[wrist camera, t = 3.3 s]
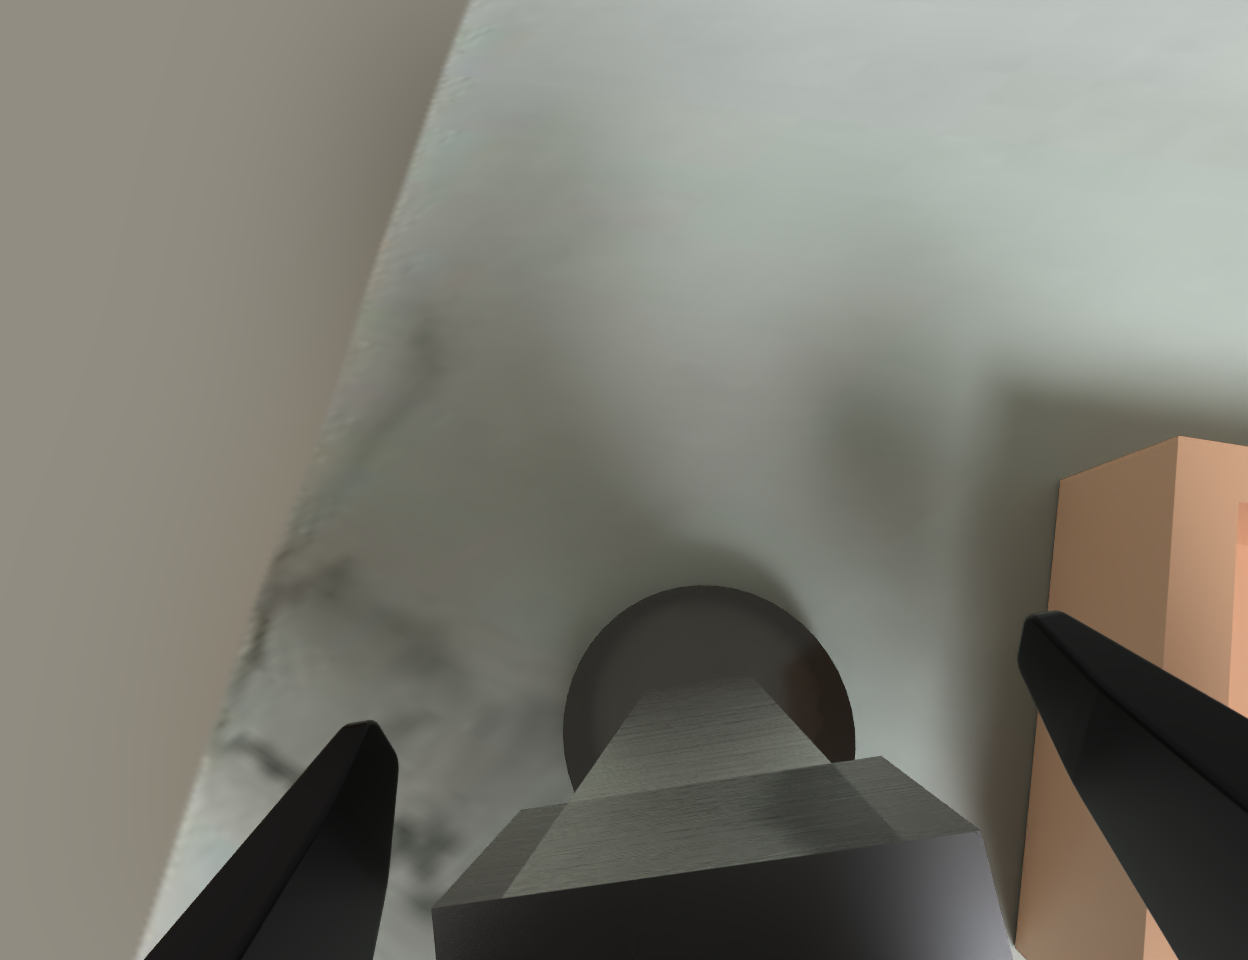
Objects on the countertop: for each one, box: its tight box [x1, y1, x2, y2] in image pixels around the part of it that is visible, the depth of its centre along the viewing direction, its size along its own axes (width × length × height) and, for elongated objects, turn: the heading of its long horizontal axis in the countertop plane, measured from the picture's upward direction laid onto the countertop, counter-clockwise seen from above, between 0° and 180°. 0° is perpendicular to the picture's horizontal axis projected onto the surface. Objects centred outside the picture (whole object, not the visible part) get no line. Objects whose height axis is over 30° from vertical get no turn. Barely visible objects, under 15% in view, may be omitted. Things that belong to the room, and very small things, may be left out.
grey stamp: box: [431, 586, 1013, 960], centre depth 10 cm, size 6×6×12 cm
